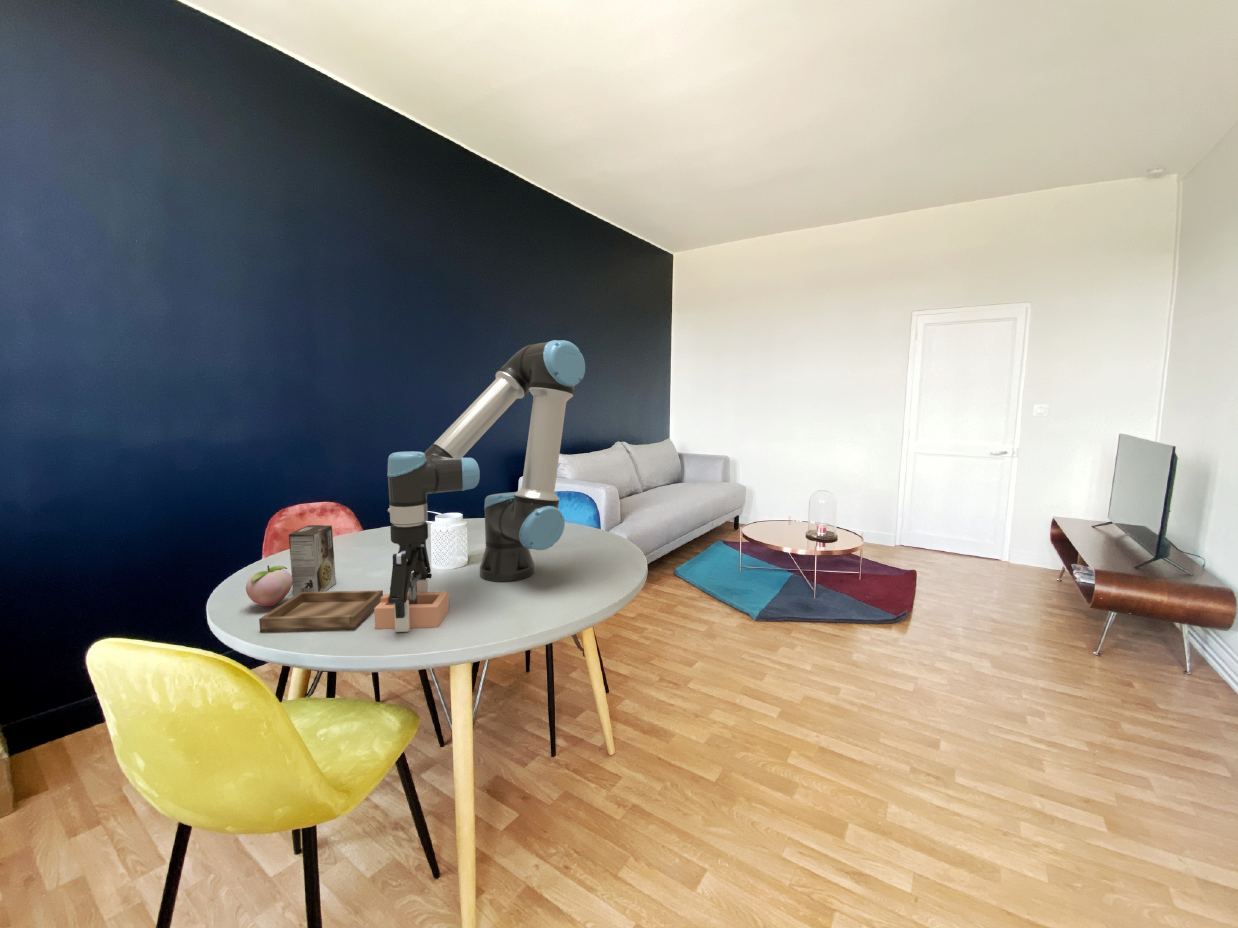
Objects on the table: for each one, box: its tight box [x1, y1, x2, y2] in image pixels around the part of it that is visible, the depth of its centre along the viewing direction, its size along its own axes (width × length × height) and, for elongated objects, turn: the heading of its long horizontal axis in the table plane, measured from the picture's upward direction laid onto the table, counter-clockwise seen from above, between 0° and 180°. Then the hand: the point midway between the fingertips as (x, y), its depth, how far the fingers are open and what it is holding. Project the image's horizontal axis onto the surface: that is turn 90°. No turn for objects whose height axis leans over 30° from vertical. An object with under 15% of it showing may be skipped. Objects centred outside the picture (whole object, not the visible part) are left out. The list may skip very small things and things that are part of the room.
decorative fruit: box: [245, 564, 293, 607], centre depth 115 cm, size 9×8×10 cm
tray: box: [258, 590, 384, 634], centre depth 110 cm, size 19×15×3 cm
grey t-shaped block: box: [408, 571, 421, 604], centre depth 109 cm, size 2×6×10 cm, turn 4°
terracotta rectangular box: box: [373, 591, 450, 630], centre depth 109 cm, size 13×9×6 cm
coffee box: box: [288, 524, 337, 597], centre depth 125 cm, size 9×6×16 cm
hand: (412, 618), depth 109 cm, fingers open, 12 cm apart
